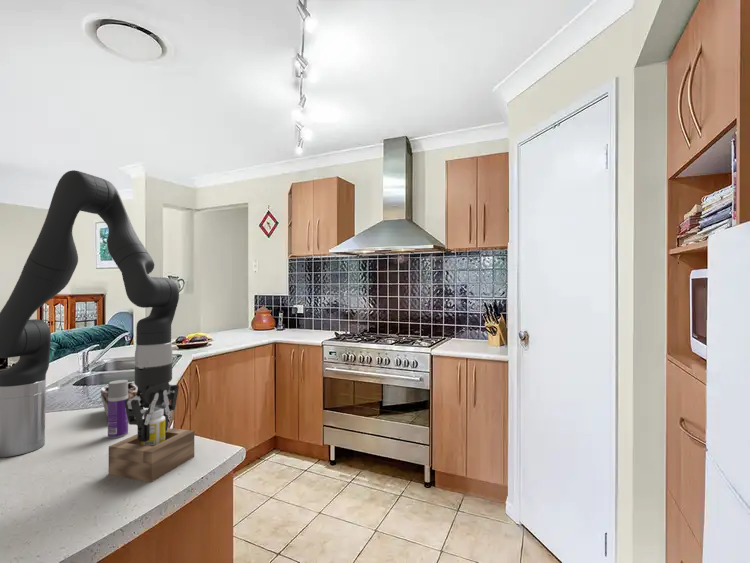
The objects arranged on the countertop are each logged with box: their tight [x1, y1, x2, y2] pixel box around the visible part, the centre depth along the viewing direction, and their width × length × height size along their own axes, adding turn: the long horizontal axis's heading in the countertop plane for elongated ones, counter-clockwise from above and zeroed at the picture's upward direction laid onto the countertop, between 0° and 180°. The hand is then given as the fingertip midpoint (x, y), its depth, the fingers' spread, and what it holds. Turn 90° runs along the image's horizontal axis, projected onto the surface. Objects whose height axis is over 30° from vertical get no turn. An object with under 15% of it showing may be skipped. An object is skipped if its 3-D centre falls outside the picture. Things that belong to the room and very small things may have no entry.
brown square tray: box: [107, 427, 195, 483], centre depth 84 cm, size 12×12×6 cm
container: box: [107, 379, 129, 440], centre depth 102 cm, size 5×5×15 cm
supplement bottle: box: [141, 407, 165, 446], centre depth 84 cm, size 5×5×8 cm
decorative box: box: [100, 381, 138, 418], centre depth 118 cm, size 13×20×10 cm, turn 37°
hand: (153, 435), depth 84 cm, fingers closed on supplement bottle, 5 cm apart
